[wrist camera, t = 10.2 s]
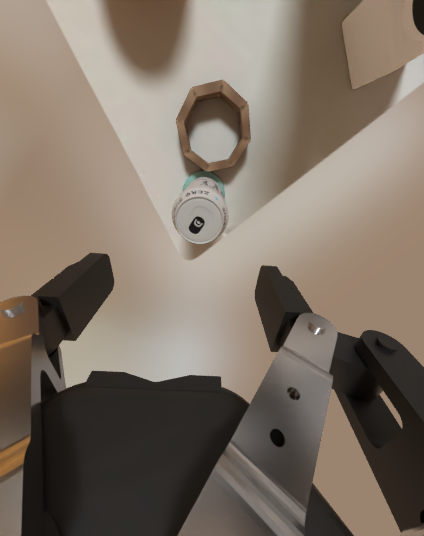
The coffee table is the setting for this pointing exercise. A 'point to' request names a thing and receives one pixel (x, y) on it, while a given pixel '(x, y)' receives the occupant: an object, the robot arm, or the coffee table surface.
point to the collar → (234, 101)
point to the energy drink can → (200, 211)
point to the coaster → (204, 174)
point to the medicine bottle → (382, 37)
